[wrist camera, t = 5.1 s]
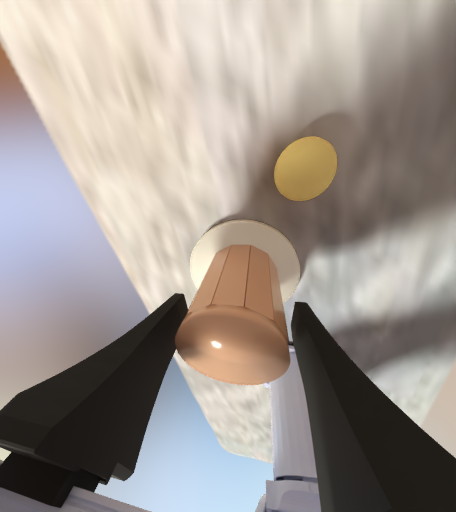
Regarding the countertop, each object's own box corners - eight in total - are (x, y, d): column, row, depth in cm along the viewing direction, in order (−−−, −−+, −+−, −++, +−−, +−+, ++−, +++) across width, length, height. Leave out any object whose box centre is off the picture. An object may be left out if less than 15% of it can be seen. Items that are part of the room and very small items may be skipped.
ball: (319, 195, 10) (339, 206, 8) (271, 196, 11) (274, 207, 8) (330, 137, 9) (359, 127, 6) (274, 142, 9) (279, 135, 7)
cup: (274, 301, 14) (284, 391, 9) (213, 297, 15) (187, 376, 10) (279, 244, 12) (298, 322, 6) (205, 244, 13) (161, 310, 7)
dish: (291, 311, 16) (292, 317, 15) (200, 303, 17) (198, 309, 17) (307, 218, 11) (310, 222, 11) (184, 220, 13) (180, 223, 12)
